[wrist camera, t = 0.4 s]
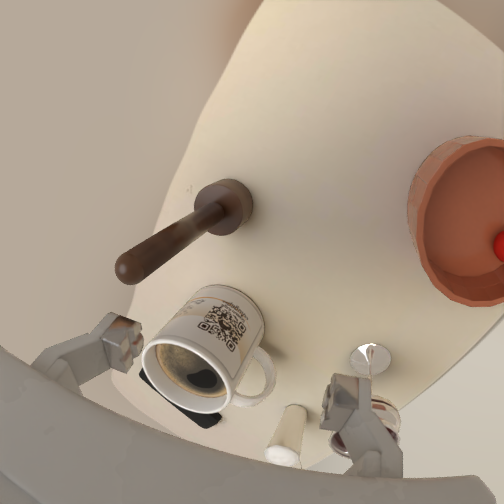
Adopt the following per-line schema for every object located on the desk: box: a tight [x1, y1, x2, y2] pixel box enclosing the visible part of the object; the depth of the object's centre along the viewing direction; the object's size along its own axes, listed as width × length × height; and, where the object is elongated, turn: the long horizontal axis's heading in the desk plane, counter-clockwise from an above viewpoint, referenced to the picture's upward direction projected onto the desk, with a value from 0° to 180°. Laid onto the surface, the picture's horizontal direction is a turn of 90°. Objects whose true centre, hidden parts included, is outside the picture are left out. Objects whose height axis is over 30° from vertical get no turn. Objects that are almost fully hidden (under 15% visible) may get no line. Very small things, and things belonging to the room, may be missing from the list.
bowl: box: [407, 136, 504, 307], centre depth 22 cm, size 14×14×6 cm
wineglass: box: [329, 344, 401, 459], centre depth 29 cm, size 7×7×12 cm
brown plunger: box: [115, 179, 253, 285], centre depth 25 cm, size 5×5×17 cm
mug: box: [142, 285, 276, 414], centre depth 33 cm, size 10×12×11 cm
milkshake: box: [264, 405, 307, 469], centre depth 36 cm, size 5×5×10 cm
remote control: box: [139, 368, 221, 429], centre depth 47 cm, size 5×2×15 cm
